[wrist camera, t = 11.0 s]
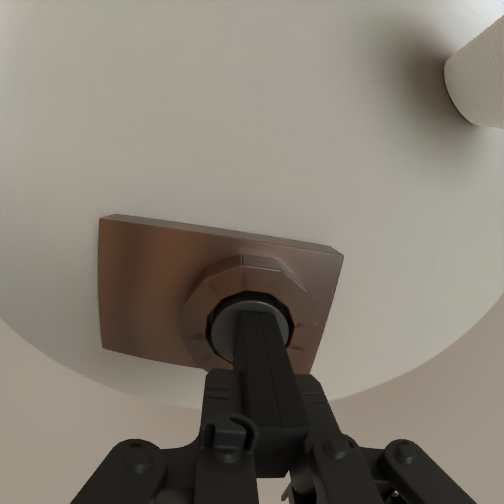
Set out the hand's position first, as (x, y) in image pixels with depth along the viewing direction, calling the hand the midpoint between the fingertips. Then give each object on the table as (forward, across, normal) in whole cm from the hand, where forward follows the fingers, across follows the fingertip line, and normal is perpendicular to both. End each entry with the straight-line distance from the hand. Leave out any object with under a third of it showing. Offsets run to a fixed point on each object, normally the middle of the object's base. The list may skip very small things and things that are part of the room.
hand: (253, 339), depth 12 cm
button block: (+5, -2, 0) cm, 5 cm away
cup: (+5, +15, +19) cm, 25 cm away
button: (+2, 0, 0) cm, 2 cm away
